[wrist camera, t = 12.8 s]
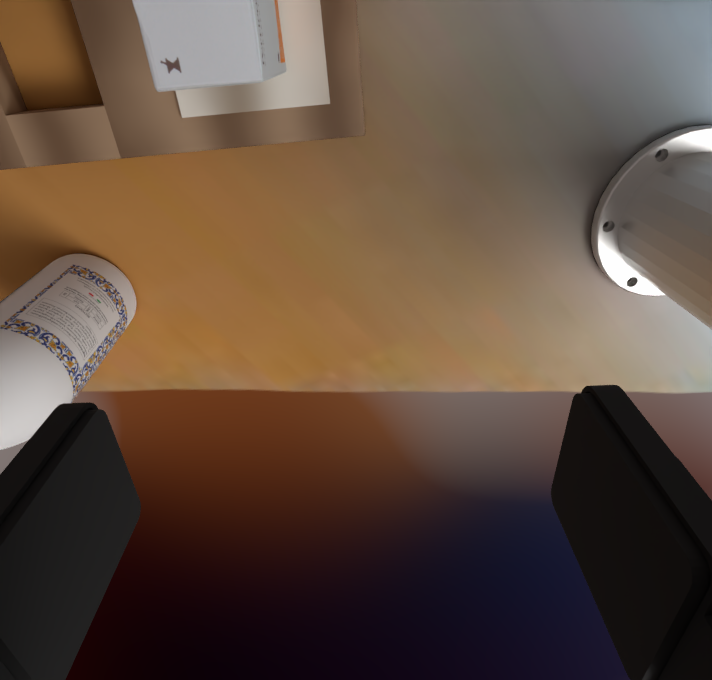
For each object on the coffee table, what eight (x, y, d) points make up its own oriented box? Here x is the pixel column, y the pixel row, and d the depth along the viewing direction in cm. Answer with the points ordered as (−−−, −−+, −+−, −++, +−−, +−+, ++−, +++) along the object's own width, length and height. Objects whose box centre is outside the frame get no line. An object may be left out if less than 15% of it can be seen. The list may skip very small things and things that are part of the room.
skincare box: (289, 72, 28) (265, 88, 18) (216, 77, 28) (151, 96, 18) (274, -61, 25) (235, -132, 15) (192, -55, 25) (97, -123, 15)
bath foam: (67, 335, 40) (-131, 552, 23) (29, 256, 36) (-238, 443, 19) (150, 326, 40) (14, 537, 23) (121, 246, 36) (-67, 425, 19)
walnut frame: (343, -158, 26) (344, -179, 23) (363, 129, 33) (365, 136, 30) (-110, -114, 26) (-155, -130, 23) (9, 162, 33) (-16, 172, 31)
